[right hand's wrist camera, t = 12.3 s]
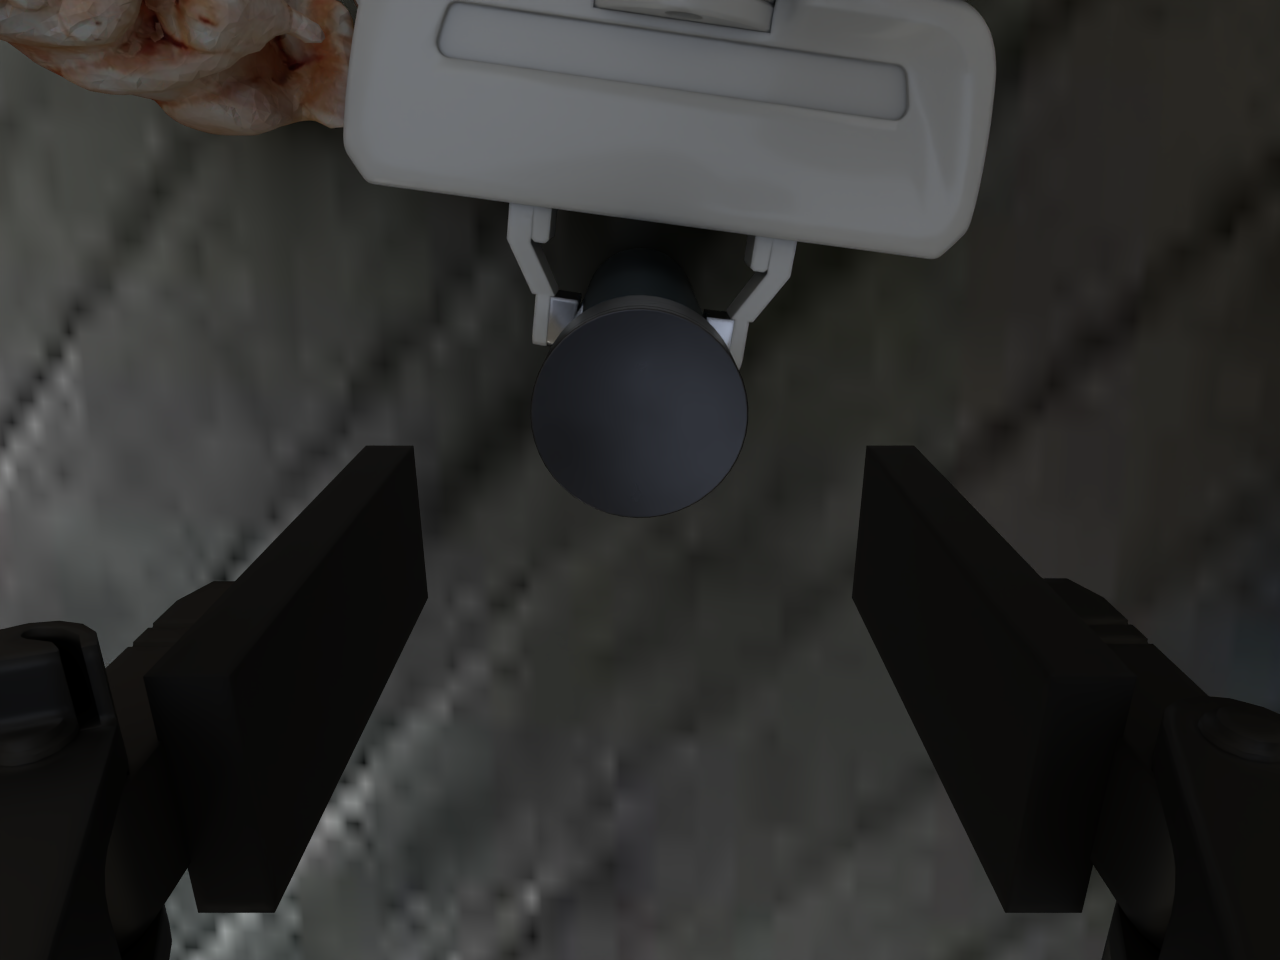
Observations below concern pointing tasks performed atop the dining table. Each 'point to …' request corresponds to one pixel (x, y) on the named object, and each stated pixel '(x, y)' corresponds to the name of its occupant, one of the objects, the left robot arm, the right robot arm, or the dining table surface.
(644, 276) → the dark grey cylinder
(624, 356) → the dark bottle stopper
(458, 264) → the dining table surface
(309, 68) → the tan lumpy piece
